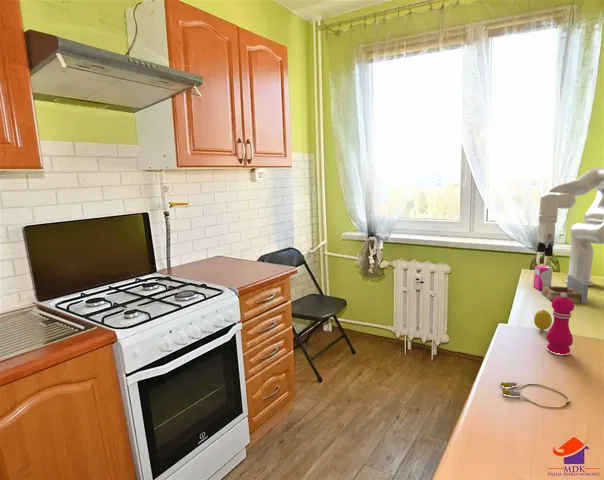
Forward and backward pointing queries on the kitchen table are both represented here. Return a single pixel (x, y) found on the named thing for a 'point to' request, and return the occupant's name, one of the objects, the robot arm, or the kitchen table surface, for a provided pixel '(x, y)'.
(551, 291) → the socket block
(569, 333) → the pepper mill
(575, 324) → the kitchen table surface
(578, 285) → the backstop wall
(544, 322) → the lemon
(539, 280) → the supplement box
